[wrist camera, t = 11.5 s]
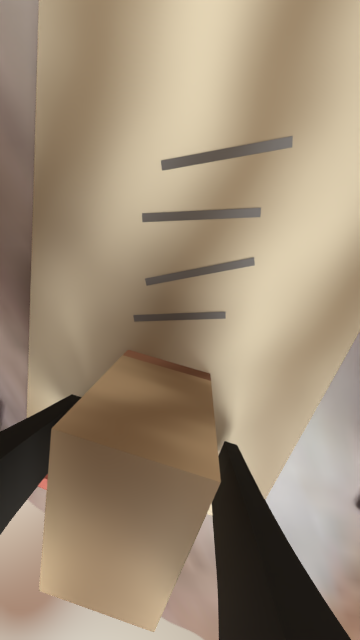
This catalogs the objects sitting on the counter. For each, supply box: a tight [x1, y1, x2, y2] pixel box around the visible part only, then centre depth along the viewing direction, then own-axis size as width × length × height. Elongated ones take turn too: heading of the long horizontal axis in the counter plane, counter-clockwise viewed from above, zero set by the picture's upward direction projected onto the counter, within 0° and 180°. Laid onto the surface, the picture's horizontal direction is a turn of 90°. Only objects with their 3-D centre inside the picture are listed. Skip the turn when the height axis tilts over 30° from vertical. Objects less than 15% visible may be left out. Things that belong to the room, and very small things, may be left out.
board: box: [27, 0, 360, 516], centre depth 8 cm, size 14×22×1 cm, turn 166°
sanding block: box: [39, 350, 221, 632], centre depth 7 cm, size 4×7×4 cm, turn 166°
